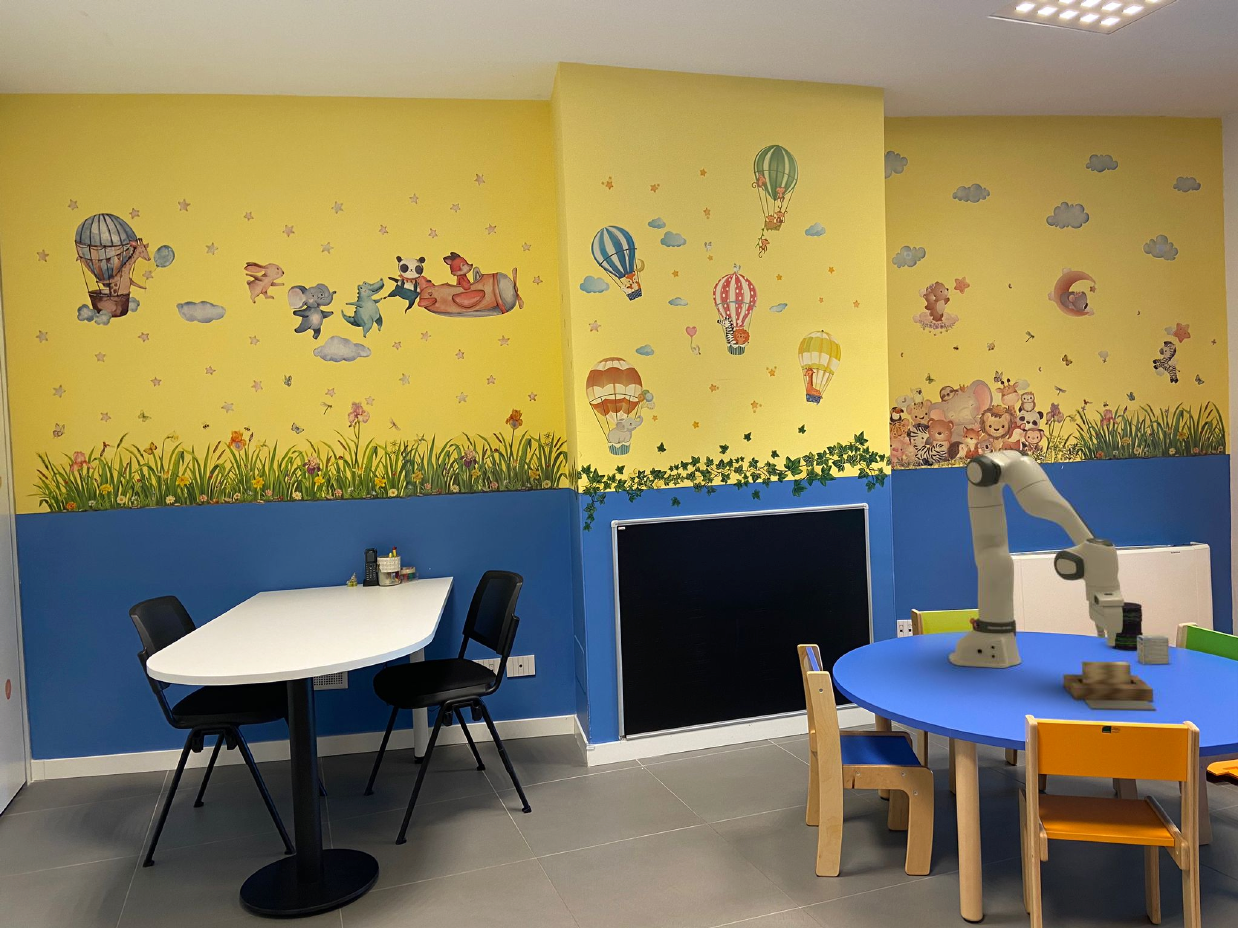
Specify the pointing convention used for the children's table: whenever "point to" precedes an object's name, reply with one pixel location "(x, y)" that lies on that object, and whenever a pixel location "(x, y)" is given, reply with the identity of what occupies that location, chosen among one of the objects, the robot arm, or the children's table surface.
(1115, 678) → the oak cover plate
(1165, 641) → the medicine box
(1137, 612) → the black cylinder
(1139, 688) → the walnut case
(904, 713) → the children's table surface
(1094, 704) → the grey flat slab
